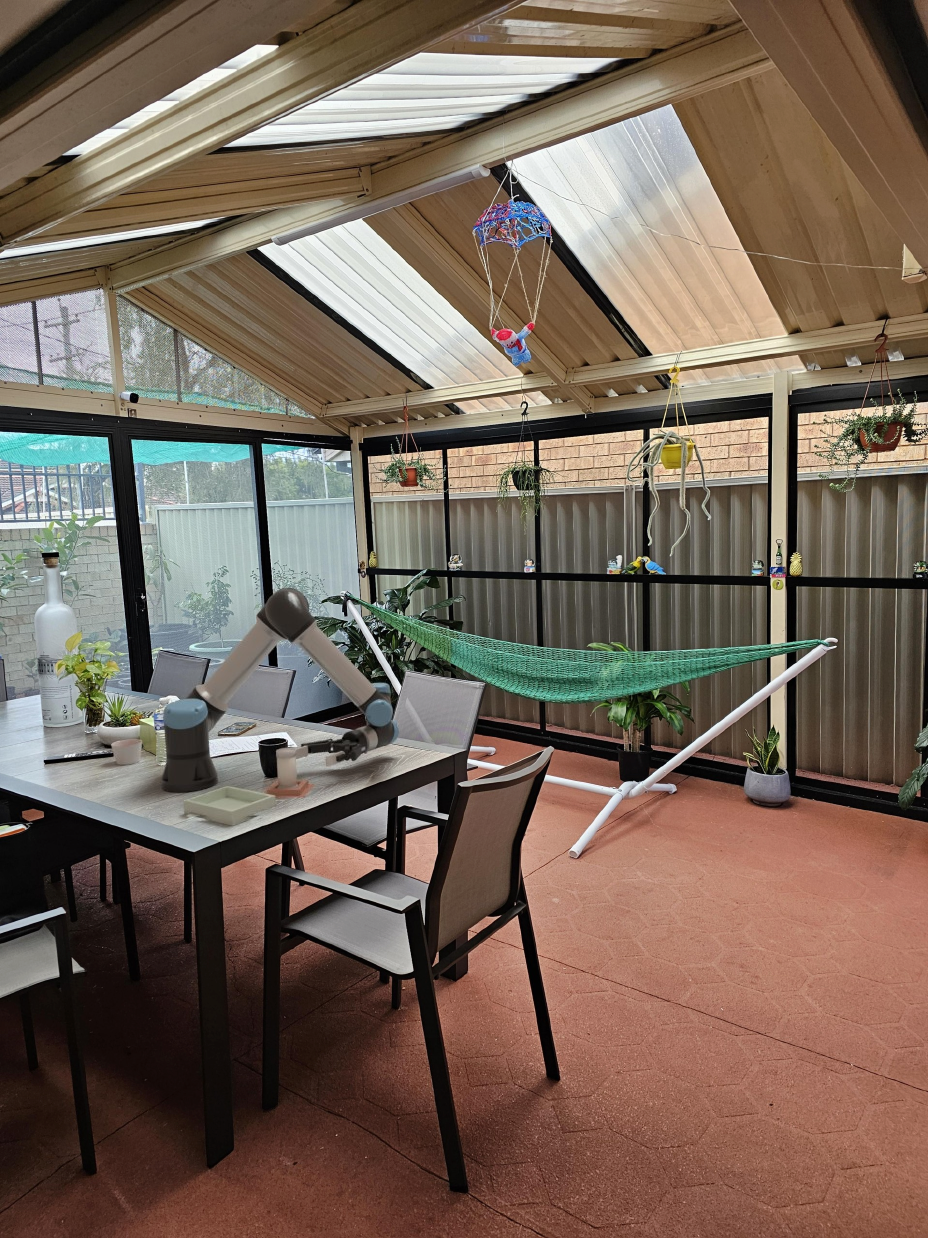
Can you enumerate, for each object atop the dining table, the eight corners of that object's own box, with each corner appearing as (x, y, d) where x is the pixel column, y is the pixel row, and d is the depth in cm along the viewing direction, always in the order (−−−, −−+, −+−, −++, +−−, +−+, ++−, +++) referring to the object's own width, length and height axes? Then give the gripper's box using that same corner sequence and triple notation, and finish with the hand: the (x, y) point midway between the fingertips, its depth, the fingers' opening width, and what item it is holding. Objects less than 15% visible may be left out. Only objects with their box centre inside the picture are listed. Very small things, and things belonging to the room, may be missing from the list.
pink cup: (148, 758, 268) (146, 739, 267) (136, 766, 259) (134, 746, 258) (120, 759, 268) (119, 739, 268) (107, 766, 259) (106, 746, 259)
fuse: (275, 793, 222) (273, 752, 221) (281, 787, 227) (279, 748, 226) (295, 793, 222) (292, 752, 221) (300, 787, 227) (298, 747, 226)
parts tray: (184, 814, 211) (183, 800, 210) (228, 798, 222) (227, 785, 222) (232, 825, 201) (232, 811, 201) (276, 809, 212) (275, 795, 212)
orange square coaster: (259, 801, 219) (259, 792, 219) (272, 787, 231) (272, 778, 231) (304, 800, 218) (304, 791, 218) (315, 787, 230) (315, 778, 230)
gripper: (392, 759, 241) (343, 778, 224) (328, 749, 255) (276, 766, 237) (391, 733, 241) (341, 750, 223) (326, 725, 254) (275, 740, 237)
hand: (308, 758), depth 230 cm, fingers open, 13 cm apart
